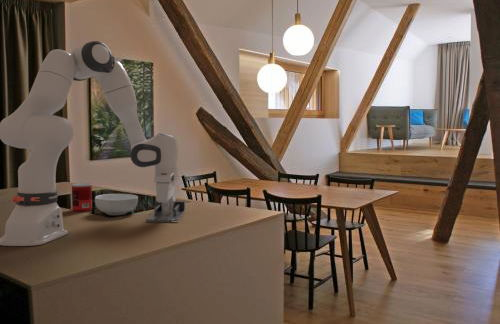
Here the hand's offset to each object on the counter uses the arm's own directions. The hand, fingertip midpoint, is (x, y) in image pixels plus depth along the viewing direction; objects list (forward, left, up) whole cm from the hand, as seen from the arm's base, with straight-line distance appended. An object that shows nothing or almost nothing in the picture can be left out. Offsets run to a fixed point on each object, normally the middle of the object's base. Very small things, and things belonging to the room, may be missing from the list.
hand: (166, 210), depth 183 cm
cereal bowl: (+6, +21, -3) cm, 22 cm away
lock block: (+6, 0, -2) cm, 6 cm away
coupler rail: (+1, 0, -3) cm, 3 cm away
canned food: (+12, +37, -3) cm, 39 cm away
